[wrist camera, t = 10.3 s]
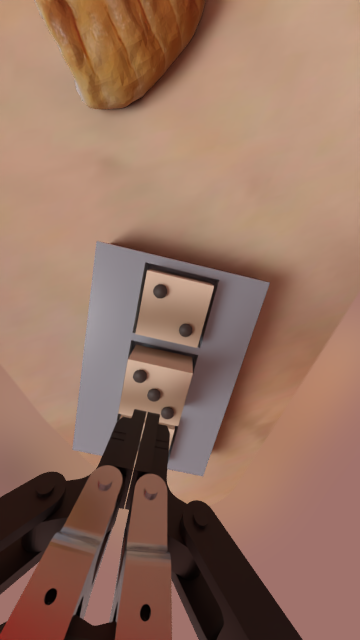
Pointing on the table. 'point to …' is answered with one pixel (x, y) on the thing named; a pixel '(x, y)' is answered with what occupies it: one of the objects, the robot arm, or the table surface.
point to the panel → (120, 340)
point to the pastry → (119, 43)
